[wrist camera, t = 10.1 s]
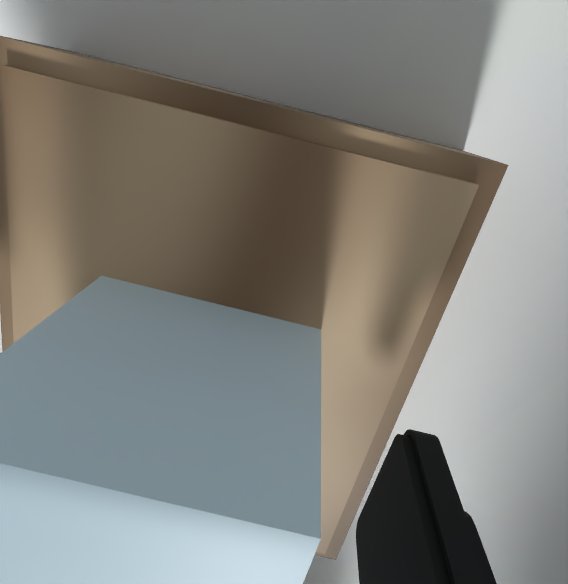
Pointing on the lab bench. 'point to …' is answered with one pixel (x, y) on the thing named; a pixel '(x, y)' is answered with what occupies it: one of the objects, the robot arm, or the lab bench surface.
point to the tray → (238, 227)
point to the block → (159, 443)
